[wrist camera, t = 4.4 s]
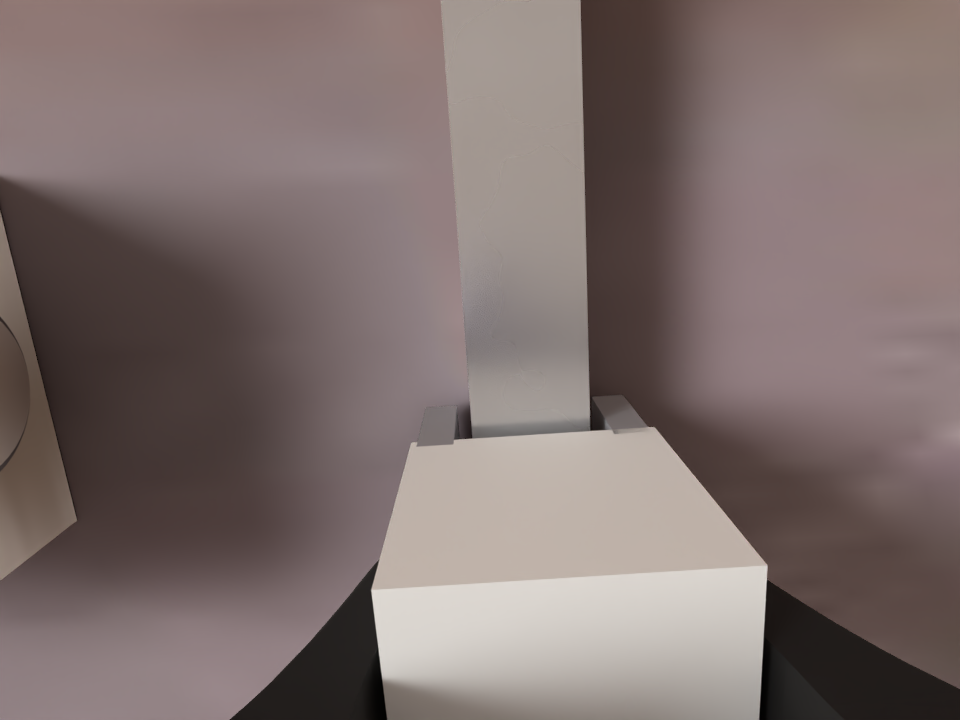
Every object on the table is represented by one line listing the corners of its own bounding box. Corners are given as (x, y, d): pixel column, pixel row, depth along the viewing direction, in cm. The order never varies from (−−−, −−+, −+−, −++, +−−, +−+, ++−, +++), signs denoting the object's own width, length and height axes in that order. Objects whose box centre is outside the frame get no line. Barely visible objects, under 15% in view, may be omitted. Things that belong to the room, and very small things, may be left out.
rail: (602, 669, 14) (636, 791, 11) (470, 677, 14) (468, 802, 11) (586, -158, 10) (631, -309, 7) (403, -145, 10) (373, -289, 7)
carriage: (629, 619, 13) (747, 933, 7) (441, 630, 13) (416, 953, 7) (627, 394, 12) (767, 565, 6) (420, 407, 12) (371, 590, 6)
